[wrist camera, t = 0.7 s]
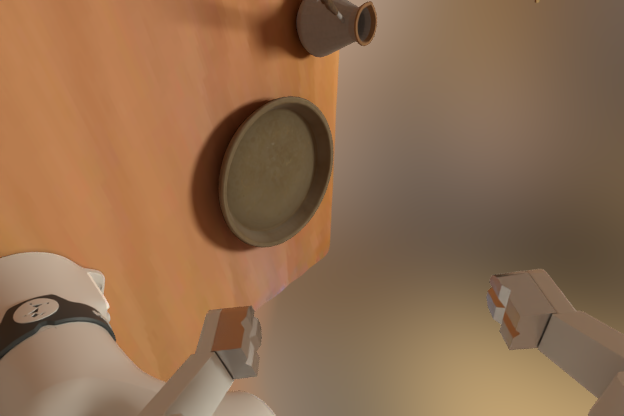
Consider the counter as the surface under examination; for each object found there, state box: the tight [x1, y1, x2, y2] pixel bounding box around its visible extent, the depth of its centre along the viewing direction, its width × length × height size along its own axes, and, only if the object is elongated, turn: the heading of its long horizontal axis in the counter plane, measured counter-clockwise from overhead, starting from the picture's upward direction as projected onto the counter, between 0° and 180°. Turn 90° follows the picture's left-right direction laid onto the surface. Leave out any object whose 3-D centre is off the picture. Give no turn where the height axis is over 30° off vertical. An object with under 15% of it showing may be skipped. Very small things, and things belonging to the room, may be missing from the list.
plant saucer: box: [219, 96, 333, 247], centre depth 69 cm, size 31×31×5 cm
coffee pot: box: [296, 0, 377, 57], centre depth 56 cm, size 21×12×15 cm, turn 73°
